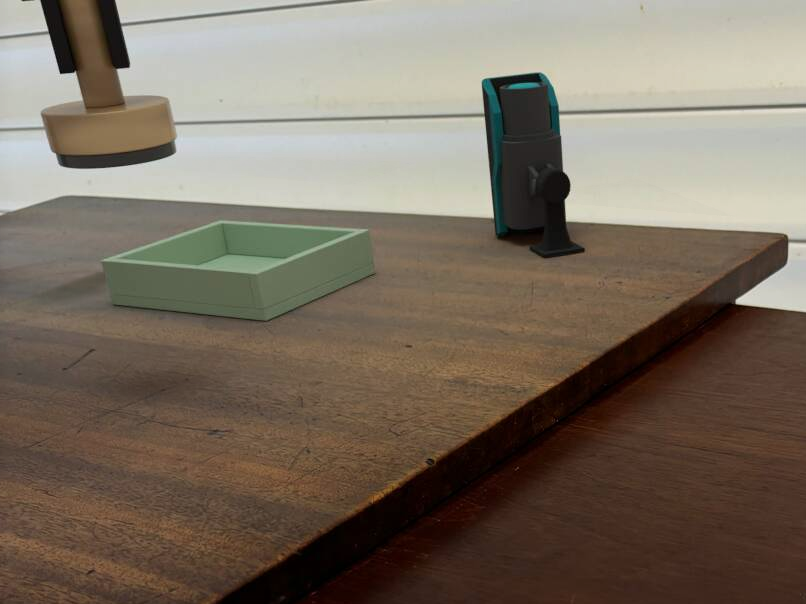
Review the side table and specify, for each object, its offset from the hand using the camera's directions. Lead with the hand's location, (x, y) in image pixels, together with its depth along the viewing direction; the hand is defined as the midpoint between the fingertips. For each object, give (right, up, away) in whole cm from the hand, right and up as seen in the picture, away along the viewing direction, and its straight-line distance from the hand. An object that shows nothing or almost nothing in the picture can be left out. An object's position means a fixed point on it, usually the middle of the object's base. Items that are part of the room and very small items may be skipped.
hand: (95, 67), depth 65 cm
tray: (+1, -1, +28) cm, 28 cm away
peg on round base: (0, -4, +3) cm, 4 cm away
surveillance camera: (+24, +5, +35) cm, 43 cm away
